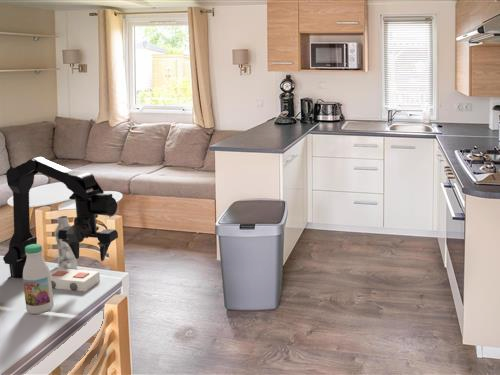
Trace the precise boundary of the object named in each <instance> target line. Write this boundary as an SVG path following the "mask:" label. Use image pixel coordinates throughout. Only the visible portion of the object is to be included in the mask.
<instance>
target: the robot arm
mask: <svg viewBox="0 0 500 375" xmlns="http://www.w3.org/2000/svg"><path fill="white" fill-rule="evenodd" d="M5 173H6V175H5V176H6V181H7V186H8V188H9V189H10V190H11V191H12V192H11V193H12V201H13V202H12V205H13V206H12V207H13V208H12V209H13V211H12V212H13V234H12V236H11V238H10V240H9V243H8V250H7V252H6V253H5V255H4V256H3V258H2V260H3V262H4V264H6V265H8V266H9V275H10V276H9V277H7V280H9V279H11V278H12V279H13V278H14V279H23V269H24V266H25V263H26V259H27V255H26V252H25V247H26V246H28V245H31V244H37V242H38V241H37V240H38V239H37V236H33V234H32V233H31V228H30V226H31V225H30V222H31V221H30V217H31V216H30V190H31V189H32V187H33V184H34V181H35V176H36V175H38V174H39V173H40V174H41V175H44V176H46V177H49V178H51V179H54V180H56V181H58V182H60V183H62V184H63V185H65V187H66V188H67V189H68V190H69V191H71V192H73V193H72V194H71V195H70V196H69V197H68V198H69V200H74V202H75V203H74V204H75V211H76V217H74V221H73V222H74V223H73V224H72V225H70V226H67V227H65V228H63V229H61V230H59V231H58V239H62V241H63V242H66V243H67V244H68V245H69V246H70V248H71V250H72V252H73V254H74V256H75V258H76V260H78V259H80V243H82V242H83V241H84V239H88V238H95V239H97V240H98V242H97V243H96V244H97V245H98V246H99V254H100V255H99V256H100V262H104V260H105V258H106V257H107V252H108V250H109V247H110V245H111V243H113V241H115V240H116V239H118V237H119V233H118V231H117V230H116V229H114V228H113V229H112V228H105V229H104V230H102V231H98V230H100V227H99V226H97V218H99V216H106V217H107V216H109V217H112V216H115V214H116V212H117V210H118V202H117V200H116V198H114V197H113V193H105V191H104V190H103V189H102V187H101V186H100V184H99V183H98V181H97V180H96V178H95V175H94V174H92V173H91V172H87V171H82V170H72V169H69V168H67V167H65V166H62V165H60V164H57V163H56V162H53V161H51V160H48V159H46V158H45V157H43V156H37V157H32V158H30V159H28V160H27V161H25V162H23V163H21V164H20V165H19V164H18V165H16V166H12V167H9V168H8V169H7V170H6V172H5Z"/></svg>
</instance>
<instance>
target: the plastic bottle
mask: <svg viewBox="0 0 500 375" xmlns="http://www.w3.org/2000/svg"><path fill="white" fill-rule="evenodd" d="M69 222H70V220H69V216H68V215H60V216H58V217H57V224H58V225H56V228H55V230H54V237H55V240H56V243H57V244H56V245H57V252H58V255H57V257H58V259H57V260H58V261H57V267H58V268H64V269H75V270H77V268H78V261H77V260H78V259H76V258H75V256H74V254H73V252H72V250H71V248H70V246H69V245H68V244H67V243H66V242H63V241H62V239H58V231H59V230H61V229H63V228H65V227H67V226H71V225H70V223H69Z"/></svg>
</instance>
